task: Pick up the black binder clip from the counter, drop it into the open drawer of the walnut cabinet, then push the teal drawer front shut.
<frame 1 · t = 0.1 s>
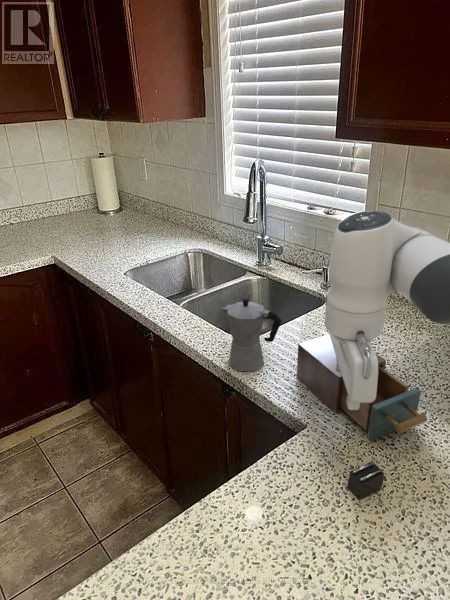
hand: (346, 388, 76), 17 cm above the worktop, tool pointing down, fingers open, 8 cm apart
drawer: (379, 402, 91), point 5 cm above the worktop, slide at 9.0 cm
coffeepot: (250, 363, 113), on the worktop
cabinet: (337, 386, 103), on the worktop
clip: (364, 488, 78), on the worktop
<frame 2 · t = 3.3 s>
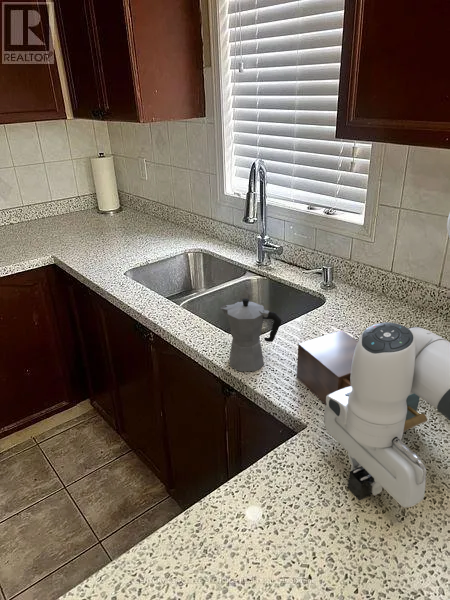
hand: (365, 481, 77), 2 cm above the worktop, tool pointing down, fingers closed on clip, 3 cm apart
clip: (364, 488, 78), on the worktop, touching gripper
everything else where it was.
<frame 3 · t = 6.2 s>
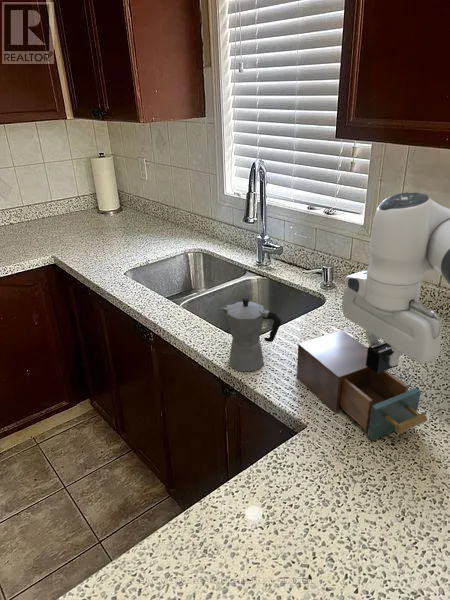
hand: (382, 357, 82), 18 cm above the worktop, tool pointing down, fingers closed on clip, 3 cm apart
clip: (381, 365, 83), point 16 cm above the worktop, touching gripper
everything else where it was.
when the fingers open (8 cm above the worktop, at t = 9.4 s): clip drops 4 cm, resting on drawer.
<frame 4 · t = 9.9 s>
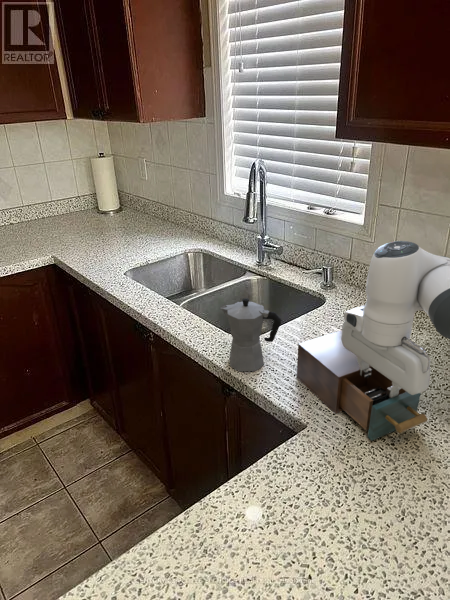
hand: (378, 385, 90), 8 cm above the worktop, tool pointing down, fingers open, 6 cm apart
drawer: (379, 402, 91), point 5 cm above the worktop, slide at 9.0 cm, touching clip, gripper
clip: (373, 409, 93), point 2 cm above the worktop, touching drawer
everything else where it was.
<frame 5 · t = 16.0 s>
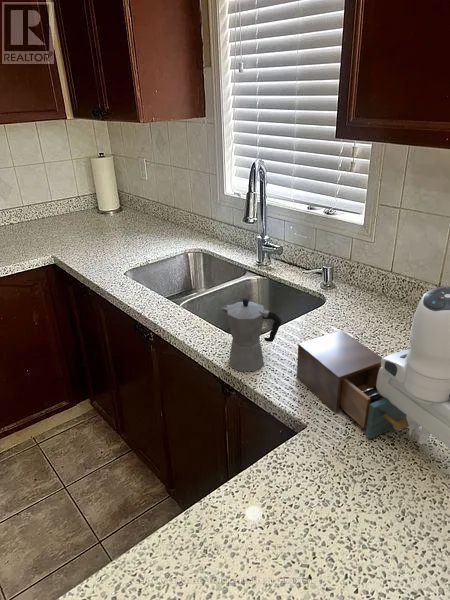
hand: (417, 438, 83), 4 cm above the worktop, tool pointing down, fingers closed
drawer: (377, 400, 91), point 5 cm above the worktop, slide at 8.4 cm, touching clip, gripper
everything else where it was.
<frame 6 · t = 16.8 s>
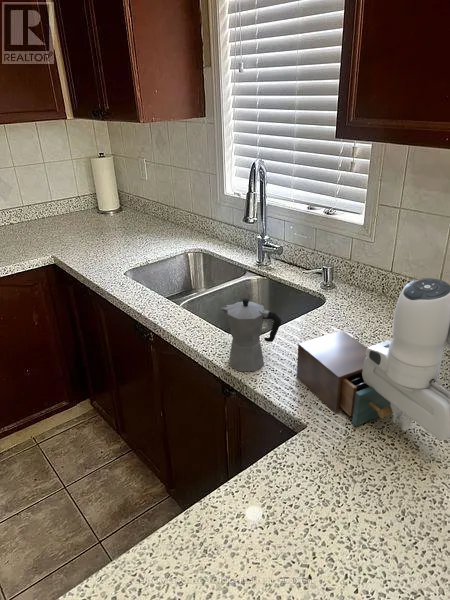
hand: (401, 425, 86), 4 cm above the worktop, tool pointing down, fingers closed
drawer: (364, 389, 94), point 5 cm above the worktop, slide at 4.4 cm, touching clip, gripper
clip: (358, 396, 97), point 2 cm above the worktop, touching drawer
everything else where it was.
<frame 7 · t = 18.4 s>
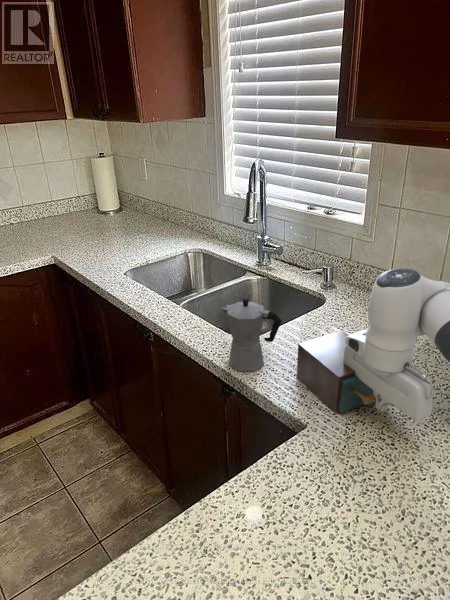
hand: (380, 409, 91), 3 cm above the worktop, tool pointing down, fingers closed, pressing on drawer
drawer: (350, 378, 98), point 5 cm above the worktop, slide at 0.0 cm, touching cabinet, clip, gripper
clip: (344, 385, 100), point 2 cm above the worktop, touching drawer
everything else where it was.
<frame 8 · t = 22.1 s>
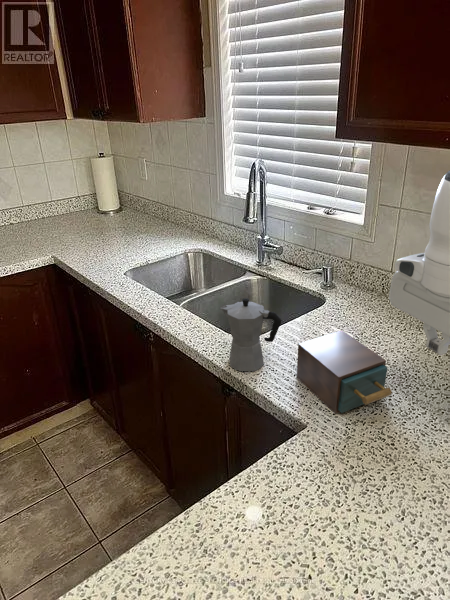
hand: (436, 350, 74), 23 cm above the worktop, tool pointing down, fingers closed
drawer: (350, 378, 98), point 5 cm above the worktop, slide at 0.0 cm, touching cabinet, clip
everything else where it was.
at the end: clip inside the target area in the cabinet (2.4 cm from its centre), point 2.0 cm above the cabinet's base; drawer slide at 0.0 cm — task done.
